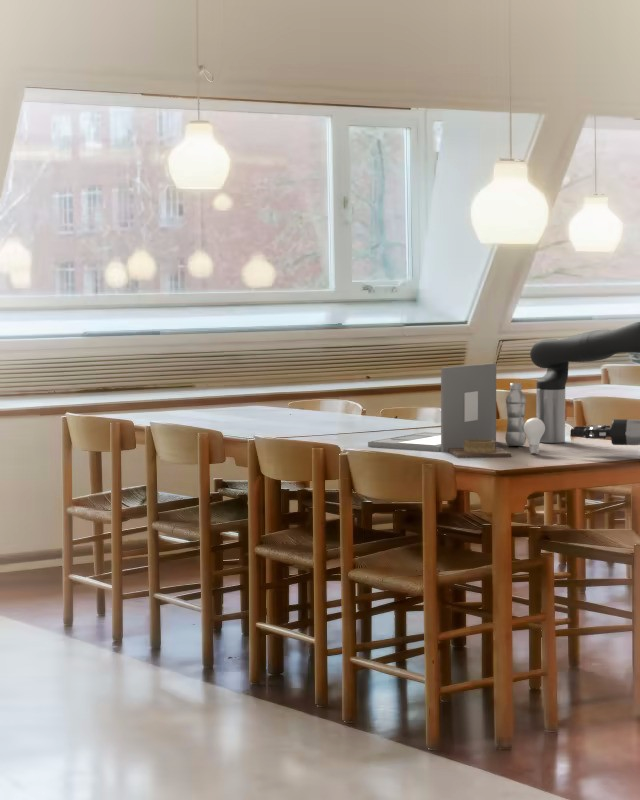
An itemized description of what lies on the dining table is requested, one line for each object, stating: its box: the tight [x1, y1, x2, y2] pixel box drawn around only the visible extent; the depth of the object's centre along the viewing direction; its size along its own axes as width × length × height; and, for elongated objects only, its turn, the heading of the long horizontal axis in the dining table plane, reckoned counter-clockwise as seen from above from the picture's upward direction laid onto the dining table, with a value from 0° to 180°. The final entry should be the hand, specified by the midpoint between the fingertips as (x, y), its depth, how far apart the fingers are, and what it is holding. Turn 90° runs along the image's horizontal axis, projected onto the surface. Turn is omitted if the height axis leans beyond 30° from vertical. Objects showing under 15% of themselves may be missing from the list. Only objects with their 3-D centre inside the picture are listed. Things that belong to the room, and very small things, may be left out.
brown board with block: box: [448, 439, 512, 458], centre depth 391 cm, size 16×16×4 cm
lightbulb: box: [523, 417, 545, 455], centre depth 389 cm, size 6×6×11 cm
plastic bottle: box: [505, 382, 527, 447], centre depth 410 cm, size 6×7×20 cm
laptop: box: [367, 362, 497, 453], centre depth 418 cm, size 35×28×26 cm
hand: (572, 431), depth 385 cm, fingers open, 8 cm apart
